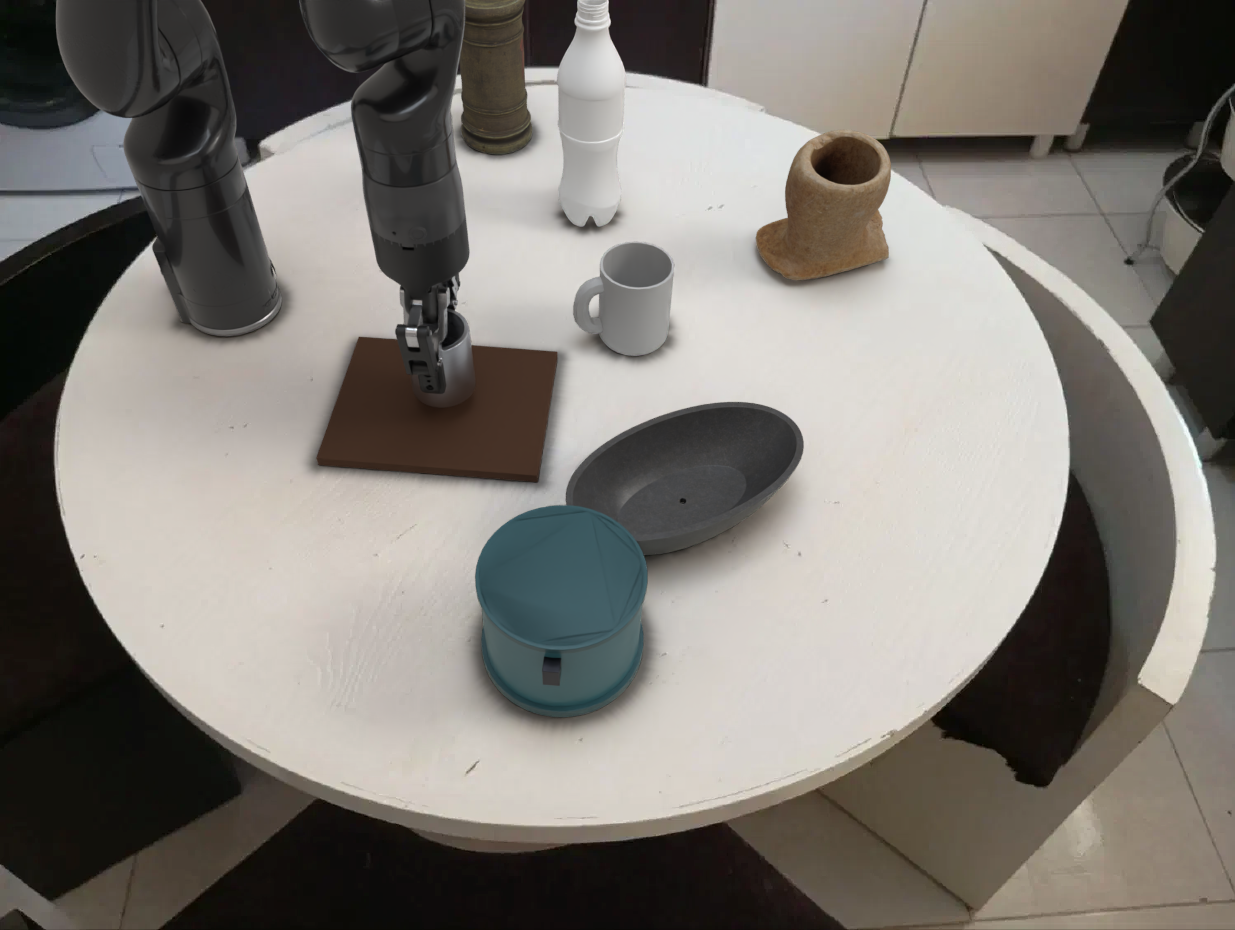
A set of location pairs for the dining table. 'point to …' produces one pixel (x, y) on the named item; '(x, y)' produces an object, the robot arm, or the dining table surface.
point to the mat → (442, 416)
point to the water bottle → (591, 118)
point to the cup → (629, 298)
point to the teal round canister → (561, 609)
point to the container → (494, 77)
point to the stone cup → (830, 208)
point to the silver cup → (452, 365)
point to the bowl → (689, 472)
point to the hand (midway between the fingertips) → (440, 365)
